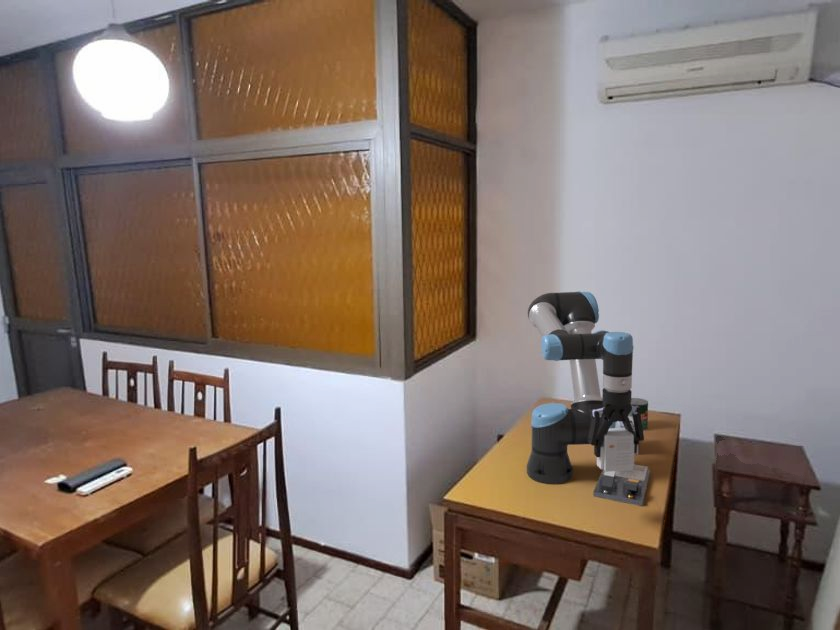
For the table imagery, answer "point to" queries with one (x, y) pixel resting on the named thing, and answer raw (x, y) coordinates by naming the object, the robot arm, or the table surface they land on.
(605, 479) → the block
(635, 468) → the panel
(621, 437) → the small box
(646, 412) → the canned tomato
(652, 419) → the table surface
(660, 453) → the table surface
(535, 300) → the robot arm
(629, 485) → the block
